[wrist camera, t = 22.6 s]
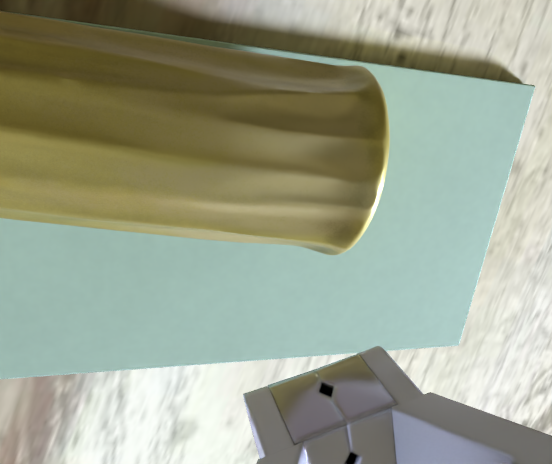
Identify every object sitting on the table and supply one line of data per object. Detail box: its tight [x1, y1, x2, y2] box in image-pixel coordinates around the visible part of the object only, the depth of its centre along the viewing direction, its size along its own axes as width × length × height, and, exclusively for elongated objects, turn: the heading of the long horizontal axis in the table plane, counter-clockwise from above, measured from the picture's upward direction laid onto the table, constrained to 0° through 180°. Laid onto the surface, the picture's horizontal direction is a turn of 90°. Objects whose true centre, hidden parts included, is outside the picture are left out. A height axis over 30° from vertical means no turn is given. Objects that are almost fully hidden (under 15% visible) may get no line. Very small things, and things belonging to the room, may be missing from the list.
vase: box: [0, 11, 390, 255], centre depth 14 cm, size 6×6×14 cm
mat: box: [0, 11, 535, 379], centre depth 20 cm, size 22×13×1 cm, turn 83°
